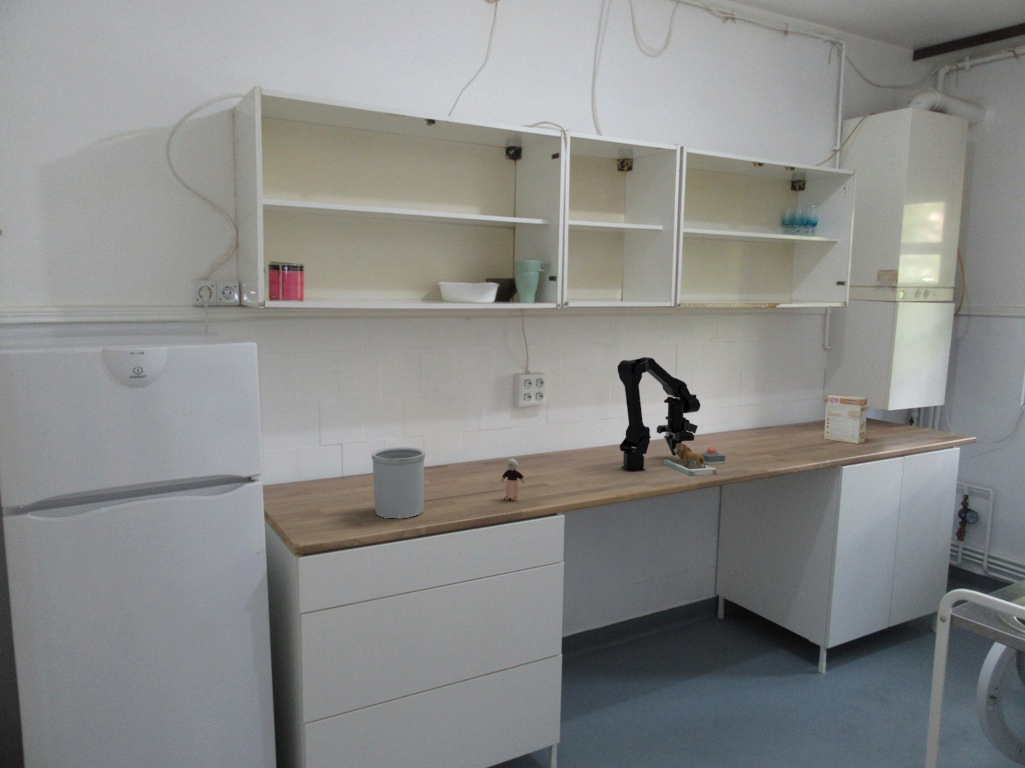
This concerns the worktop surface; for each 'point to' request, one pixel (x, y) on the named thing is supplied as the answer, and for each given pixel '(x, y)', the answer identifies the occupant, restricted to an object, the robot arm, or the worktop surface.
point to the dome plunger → (711, 451)
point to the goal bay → (691, 471)
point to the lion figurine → (689, 456)
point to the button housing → (713, 458)
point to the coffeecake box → (845, 418)
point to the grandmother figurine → (512, 480)
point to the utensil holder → (398, 482)
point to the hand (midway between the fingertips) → (674, 455)
